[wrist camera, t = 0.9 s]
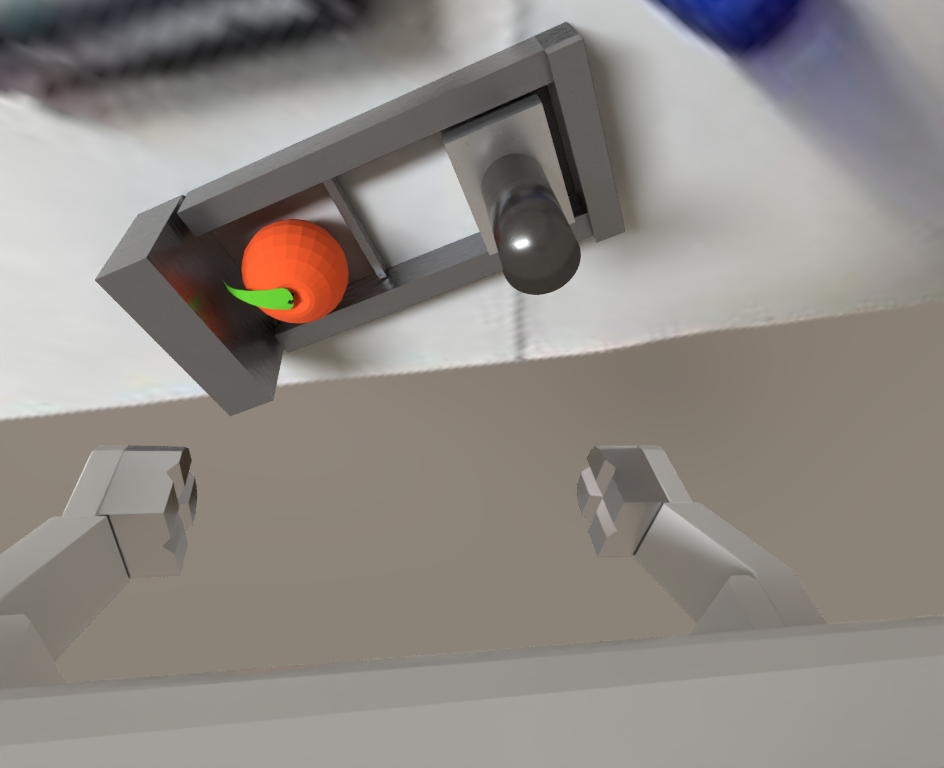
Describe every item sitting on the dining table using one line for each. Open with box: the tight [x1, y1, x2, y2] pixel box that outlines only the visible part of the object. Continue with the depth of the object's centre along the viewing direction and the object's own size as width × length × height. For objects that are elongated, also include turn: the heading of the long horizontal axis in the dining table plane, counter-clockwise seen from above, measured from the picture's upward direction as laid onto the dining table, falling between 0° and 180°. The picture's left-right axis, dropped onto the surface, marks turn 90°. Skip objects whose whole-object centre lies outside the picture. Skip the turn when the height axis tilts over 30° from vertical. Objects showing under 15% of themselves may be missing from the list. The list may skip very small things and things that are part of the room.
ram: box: [441, 90, 581, 295], centre depth 35 cm, size 6×8×13 cm
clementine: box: [223, 219, 349, 323], centre depth 40 cm, size 8×7×7 cm
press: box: [95, 22, 625, 416], centre depth 38 cm, size 30×12×8 cm, turn 111°
